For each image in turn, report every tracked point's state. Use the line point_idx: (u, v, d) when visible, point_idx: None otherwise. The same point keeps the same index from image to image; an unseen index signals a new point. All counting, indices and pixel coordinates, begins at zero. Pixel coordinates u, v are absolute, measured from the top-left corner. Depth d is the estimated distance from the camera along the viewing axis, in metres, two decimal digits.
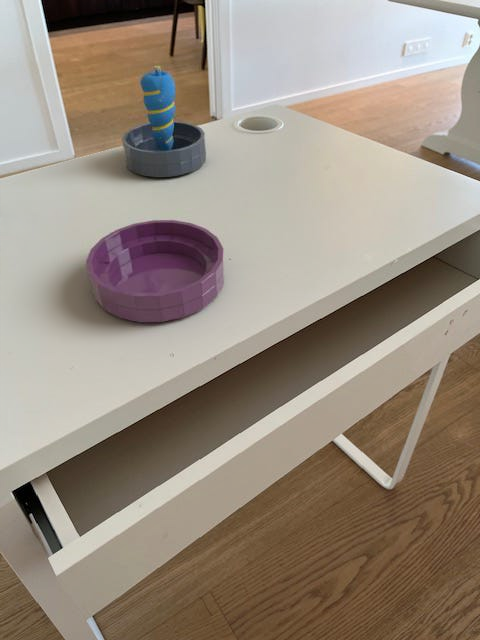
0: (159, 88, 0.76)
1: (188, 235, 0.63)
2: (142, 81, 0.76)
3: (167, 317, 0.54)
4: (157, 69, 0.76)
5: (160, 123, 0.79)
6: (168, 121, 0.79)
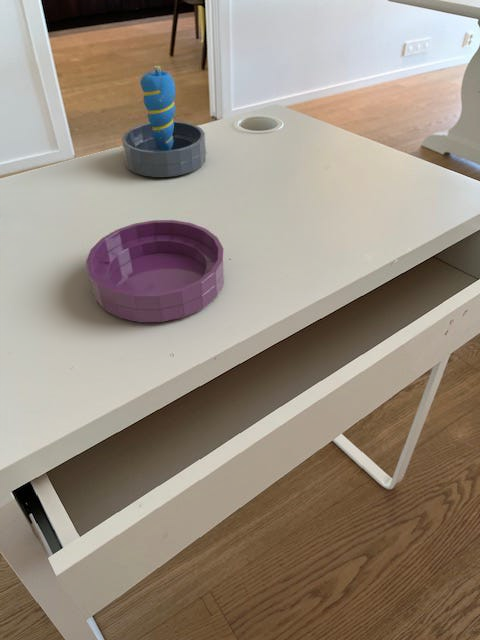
0: (159, 88, 0.76)
1: (188, 235, 0.63)
2: (142, 81, 0.76)
3: (167, 317, 0.54)
4: (157, 69, 0.76)
5: (160, 123, 0.79)
6: (168, 121, 0.79)
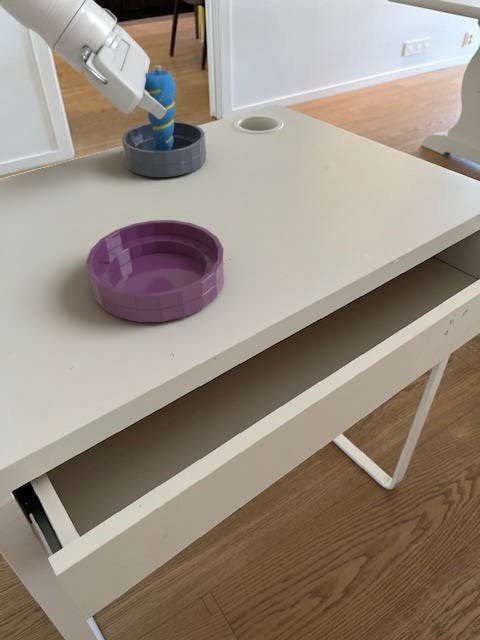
0: (160, 87, 0.76)
1: (188, 235, 0.63)
2: None
3: (167, 317, 0.54)
4: (158, 68, 0.76)
5: (160, 122, 0.79)
6: (168, 121, 0.79)
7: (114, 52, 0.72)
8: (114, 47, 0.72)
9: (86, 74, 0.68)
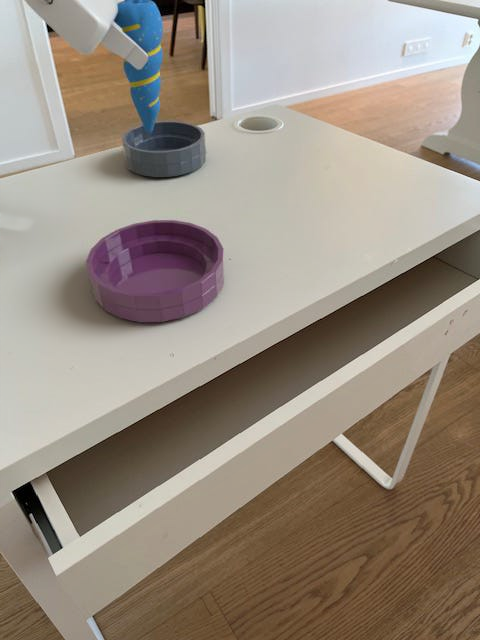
0: (139, 21, 0.52)
1: (188, 235, 0.63)
2: None
3: (167, 317, 0.54)
4: None
5: (140, 75, 0.55)
6: (152, 73, 0.55)
7: None
8: None
9: None
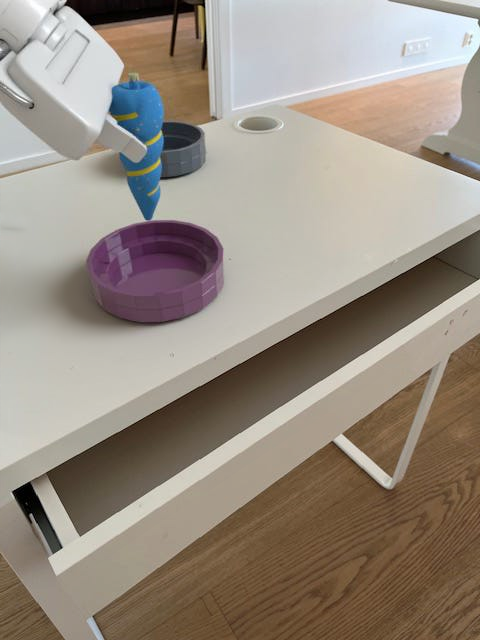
0: (136, 110, 0.45)
1: (188, 235, 0.63)
2: None
3: (167, 317, 0.54)
4: (133, 78, 0.45)
5: (138, 165, 0.48)
6: (151, 162, 0.49)
7: (54, 51, 0.41)
8: (54, 43, 0.41)
9: None
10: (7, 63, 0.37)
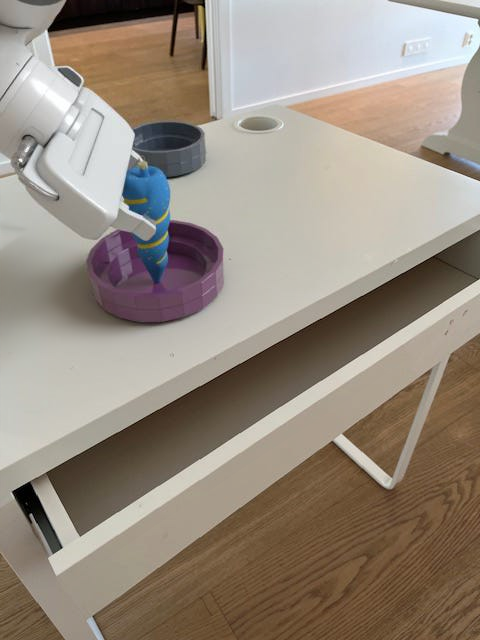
0: (146, 195, 0.50)
1: (188, 235, 0.63)
2: None
3: (167, 317, 0.54)
4: (142, 167, 0.50)
5: (147, 240, 0.54)
6: (160, 237, 0.54)
7: (75, 140, 0.46)
8: (75, 133, 0.46)
9: None
10: (35, 159, 0.42)
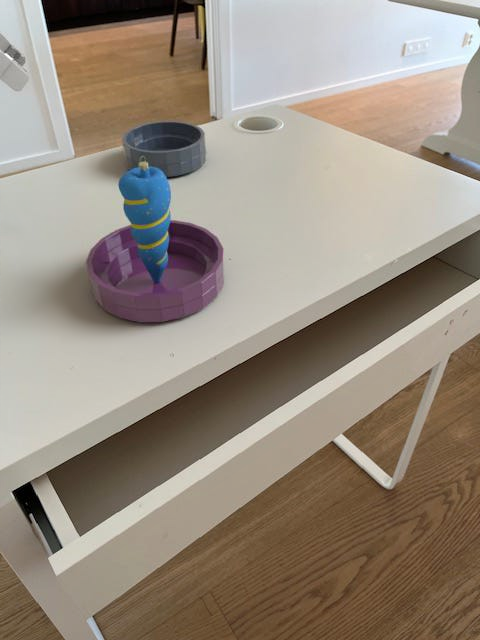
0: (147, 196, 0.50)
1: (188, 235, 0.63)
2: (121, 185, 0.50)
3: (167, 317, 0.54)
4: (143, 168, 0.50)
5: (148, 241, 0.54)
6: (160, 237, 0.54)
7: None
8: None
9: None
10: None
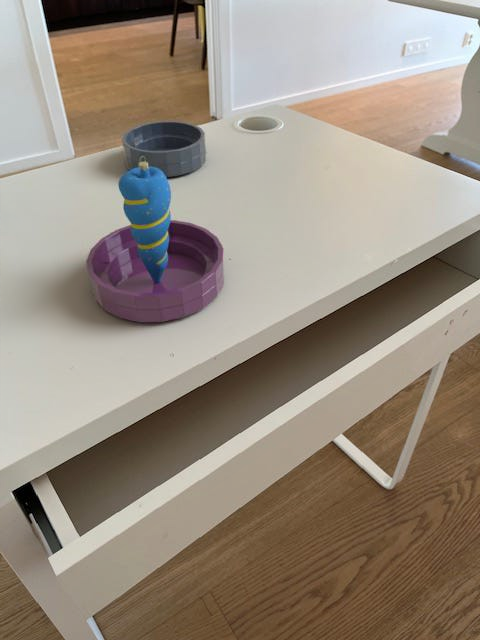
0: (147, 196, 0.50)
1: (188, 235, 0.63)
2: (121, 185, 0.50)
3: (167, 317, 0.54)
4: (143, 168, 0.50)
5: (148, 241, 0.54)
6: (160, 237, 0.54)
7: None
8: None
9: None
10: None
